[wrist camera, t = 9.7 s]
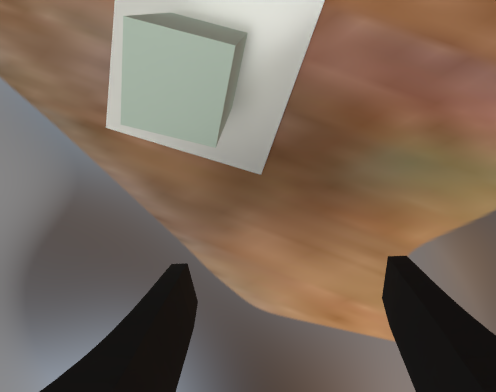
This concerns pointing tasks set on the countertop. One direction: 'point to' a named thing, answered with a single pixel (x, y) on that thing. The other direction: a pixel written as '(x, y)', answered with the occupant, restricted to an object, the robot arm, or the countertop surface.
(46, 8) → the countertop surface
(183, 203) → the countertop surface
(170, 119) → the block
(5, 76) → the countertop surface
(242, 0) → the plate
